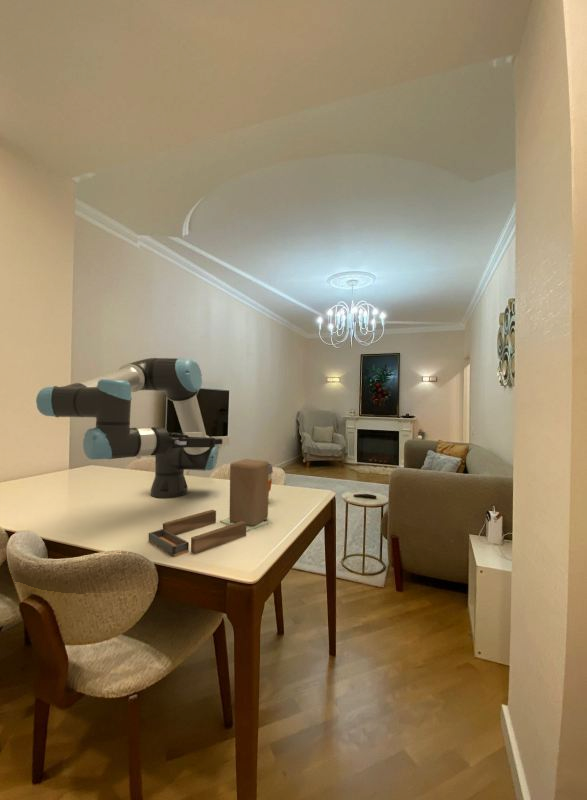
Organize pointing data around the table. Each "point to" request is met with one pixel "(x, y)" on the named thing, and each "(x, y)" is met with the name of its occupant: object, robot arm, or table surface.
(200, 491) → the table surface
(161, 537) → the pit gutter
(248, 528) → the pad
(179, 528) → the alley
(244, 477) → the block
